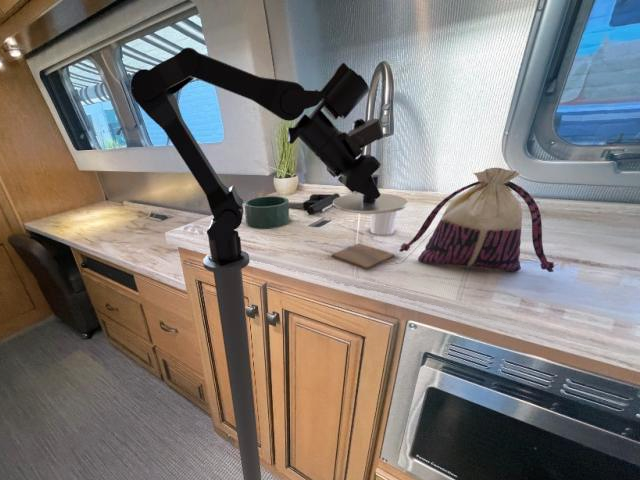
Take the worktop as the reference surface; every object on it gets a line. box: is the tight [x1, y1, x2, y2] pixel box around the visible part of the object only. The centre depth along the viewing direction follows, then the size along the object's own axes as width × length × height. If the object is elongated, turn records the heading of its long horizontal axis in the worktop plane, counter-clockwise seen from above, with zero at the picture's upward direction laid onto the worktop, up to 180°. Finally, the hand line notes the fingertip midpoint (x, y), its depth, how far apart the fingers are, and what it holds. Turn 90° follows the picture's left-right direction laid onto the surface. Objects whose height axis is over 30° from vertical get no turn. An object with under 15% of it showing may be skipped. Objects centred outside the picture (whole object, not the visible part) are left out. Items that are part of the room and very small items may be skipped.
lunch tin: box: [244, 195, 290, 229], centre depth 98 cm, size 14×14×6 cm
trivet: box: [331, 243, 396, 270], centre depth 70 cm, size 10×10×1 cm
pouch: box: [398, 167, 555, 273], centre depth 58 cm, size 25×8×19 cm, turn 63°
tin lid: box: [332, 174, 409, 215], centre depth 64 cm, size 15×15×6 cm
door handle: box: [289, 192, 341, 216], centre depth 109 cm, size 3×20×16 cm
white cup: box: [370, 210, 400, 236], centre depth 81 cm, size 7×7×7 cm
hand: (375, 195), depth 64 cm, fingers closed on tin lid, 3 cm apart
